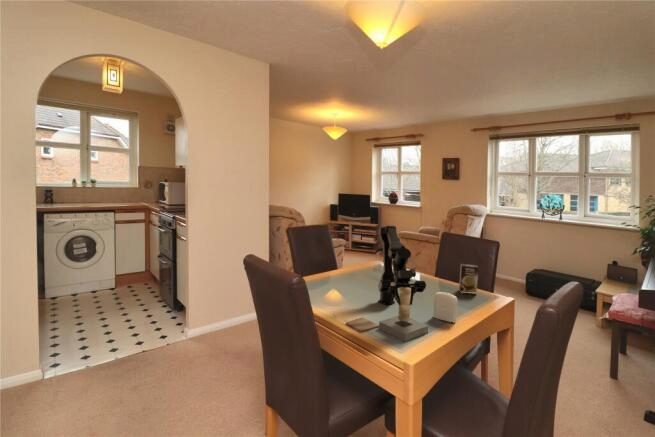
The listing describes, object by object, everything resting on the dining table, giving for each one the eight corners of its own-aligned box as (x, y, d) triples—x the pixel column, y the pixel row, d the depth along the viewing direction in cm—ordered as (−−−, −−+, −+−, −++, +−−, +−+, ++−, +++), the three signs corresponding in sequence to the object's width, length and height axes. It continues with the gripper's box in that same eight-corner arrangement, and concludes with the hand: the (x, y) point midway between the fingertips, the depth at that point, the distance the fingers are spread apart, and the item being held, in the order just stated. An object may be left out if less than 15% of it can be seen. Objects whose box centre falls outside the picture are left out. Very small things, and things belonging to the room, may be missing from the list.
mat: (345, 324, 144) (345, 322, 143) (362, 319, 150) (362, 317, 149) (361, 332, 136) (361, 330, 136) (378, 327, 142) (378, 325, 142)
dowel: (396, 318, 139) (397, 287, 138) (403, 316, 141) (404, 286, 140) (404, 322, 135) (406, 290, 134) (411, 319, 138) (413, 289, 137)
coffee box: (459, 293, 192) (461, 265, 190) (458, 290, 198) (460, 263, 196) (476, 295, 189) (478, 267, 187) (475, 292, 195) (477, 264, 194)
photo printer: (431, 317, 154) (433, 291, 153) (435, 315, 157) (437, 289, 156) (453, 324, 147) (455, 296, 146) (457, 321, 150) (459, 294, 149)
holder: (378, 328, 140) (379, 321, 140) (401, 321, 149) (401, 314, 148) (405, 341, 129) (405, 333, 129) (427, 332, 138) (428, 325, 137)
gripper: (382, 260, 140) (386, 295, 130) (426, 262, 140) (433, 296, 130) (377, 274, 148) (381, 307, 138) (419, 275, 149) (426, 308, 139)
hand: (405, 304), depth 136 cm, fingers closed on dowel, 4 cm apart
